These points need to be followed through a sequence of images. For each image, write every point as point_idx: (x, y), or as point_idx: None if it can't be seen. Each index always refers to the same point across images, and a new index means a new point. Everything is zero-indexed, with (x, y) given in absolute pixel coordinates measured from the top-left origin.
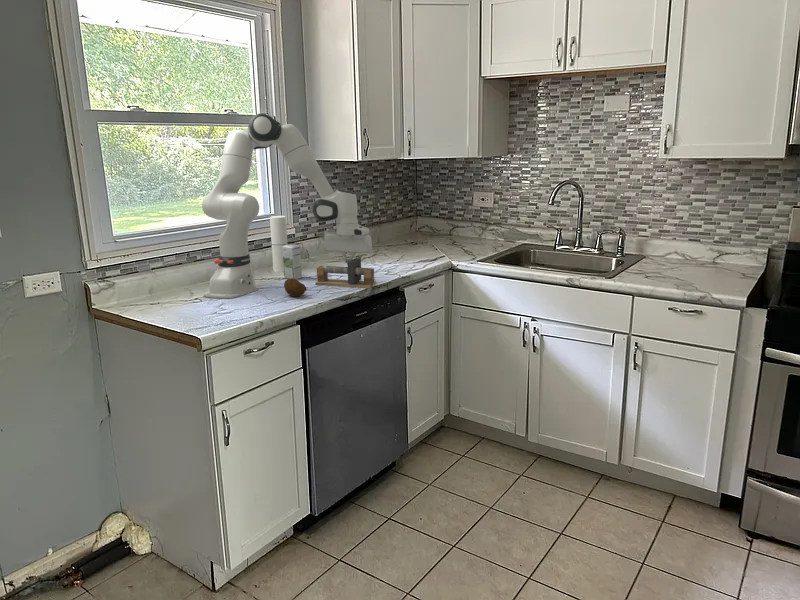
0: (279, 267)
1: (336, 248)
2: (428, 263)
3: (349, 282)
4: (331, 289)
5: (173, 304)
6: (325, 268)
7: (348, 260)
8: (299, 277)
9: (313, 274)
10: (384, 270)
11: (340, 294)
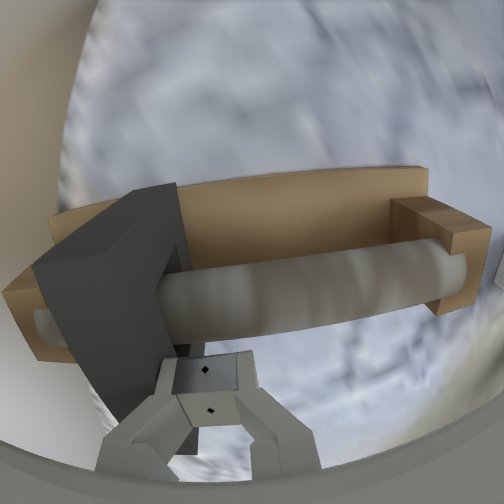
0: None
1: (446, 487)
2: None
3: (160, 186)
4: (264, 78)
5: None
6: (435, 250)
7: (191, 375)
8: (501, 266)
9: (461, 341)
10: (223, 466)
11: (136, 4)
